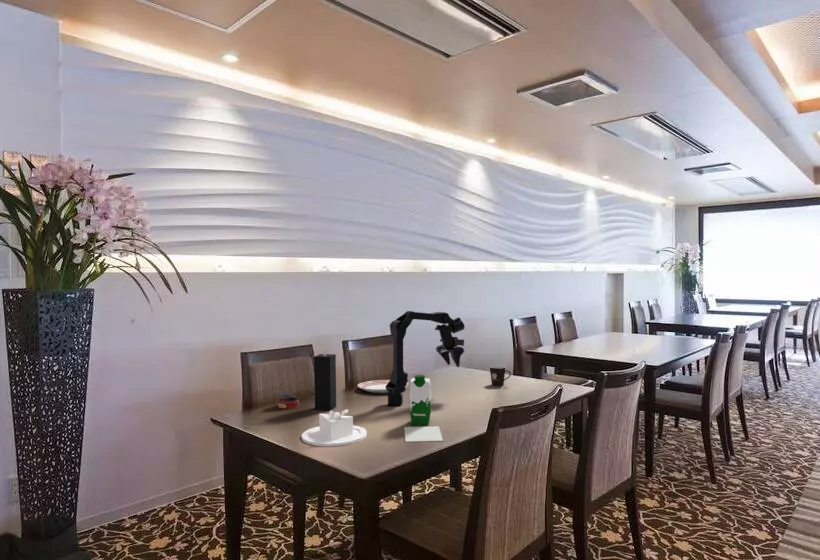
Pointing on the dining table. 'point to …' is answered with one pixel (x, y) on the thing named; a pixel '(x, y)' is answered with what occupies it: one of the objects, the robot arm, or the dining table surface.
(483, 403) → the dining table surface
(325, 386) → the tall black box
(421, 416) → the milk carton
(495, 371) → the coffee mug
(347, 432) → the dish
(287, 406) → the canned food
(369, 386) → the dinner plate
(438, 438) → the placemat
